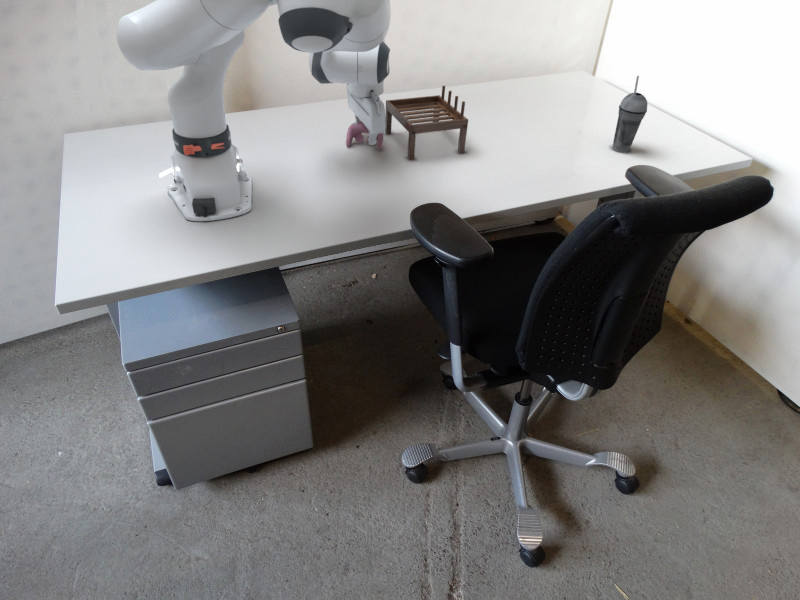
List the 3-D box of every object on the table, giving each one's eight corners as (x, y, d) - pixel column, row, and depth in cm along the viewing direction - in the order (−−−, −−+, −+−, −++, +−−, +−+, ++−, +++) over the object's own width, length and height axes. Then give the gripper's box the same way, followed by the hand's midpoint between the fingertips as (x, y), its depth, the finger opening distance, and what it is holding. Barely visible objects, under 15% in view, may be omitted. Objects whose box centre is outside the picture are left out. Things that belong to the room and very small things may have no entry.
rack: (464, 152, 157) (470, 105, 149) (409, 160, 152) (412, 112, 144) (436, 126, 169) (440, 82, 161) (384, 132, 164) (386, 87, 156)
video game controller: (383, 150, 159) (385, 123, 157) (381, 149, 154) (383, 122, 153) (347, 147, 159) (349, 120, 158) (344, 146, 155) (346, 119, 153)
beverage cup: (635, 156, 160) (659, 82, 148) (608, 152, 161) (629, 79, 149) (632, 145, 166) (655, 73, 153) (606, 142, 167) (626, 70, 154)
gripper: (392, 97, 141) (390, 151, 149) (365, 70, 155) (364, 121, 164) (367, 100, 139) (367, 154, 147) (342, 72, 153) (343, 123, 162)
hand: (365, 136), depth 156 cm, fingers open, 8 cm apart
